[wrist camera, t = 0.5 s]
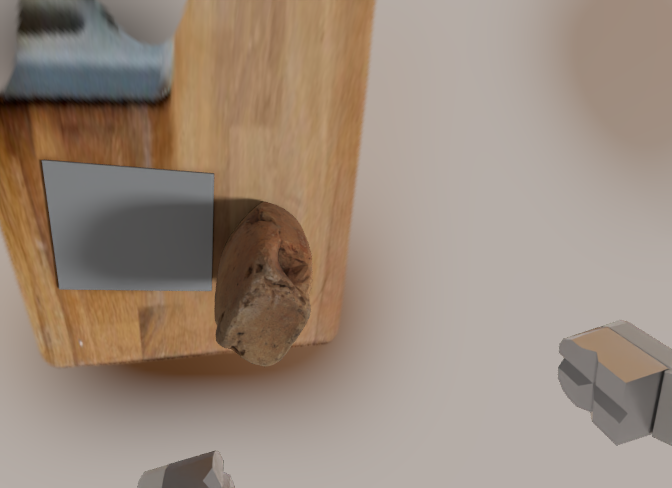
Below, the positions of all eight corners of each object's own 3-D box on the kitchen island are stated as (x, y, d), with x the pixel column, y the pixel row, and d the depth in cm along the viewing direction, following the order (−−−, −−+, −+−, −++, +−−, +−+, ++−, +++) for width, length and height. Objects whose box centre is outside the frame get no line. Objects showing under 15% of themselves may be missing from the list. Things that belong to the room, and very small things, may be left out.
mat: (43, 159, 44) (41, 160, 44) (214, 173, 49) (213, 174, 48) (60, 287, 50) (59, 289, 50) (211, 289, 55) (211, 291, 54)
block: (263, 280, 56) (274, 381, 38) (213, 256, 53) (199, 353, 35) (306, 217, 54) (339, 292, 36) (256, 188, 51) (265, 254, 33)
